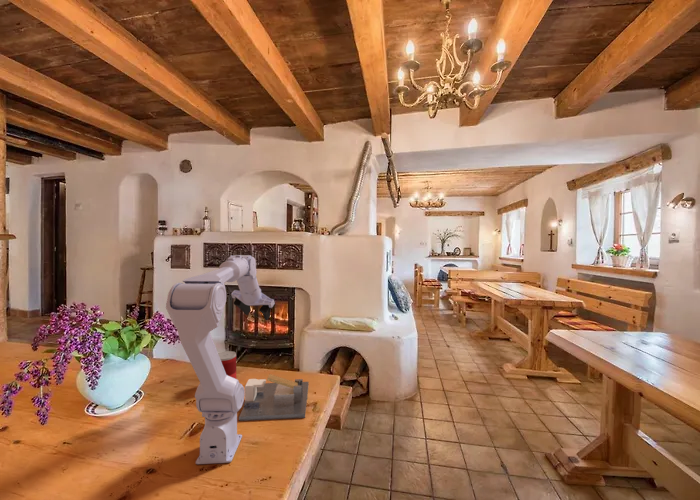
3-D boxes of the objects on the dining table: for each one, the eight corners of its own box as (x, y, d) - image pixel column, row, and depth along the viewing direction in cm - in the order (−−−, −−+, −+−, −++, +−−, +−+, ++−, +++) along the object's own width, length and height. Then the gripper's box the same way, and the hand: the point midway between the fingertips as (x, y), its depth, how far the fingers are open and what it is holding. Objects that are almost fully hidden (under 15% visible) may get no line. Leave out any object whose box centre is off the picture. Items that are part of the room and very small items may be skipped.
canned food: (240, 381, 108) (240, 351, 108) (229, 391, 100) (229, 359, 100) (220, 380, 109) (220, 350, 109) (207, 390, 101) (207, 358, 101)
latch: (263, 402, 91) (263, 385, 91) (245, 403, 90) (245, 386, 90) (266, 394, 96) (266, 378, 95) (249, 395, 95) (249, 379, 95)
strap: (298, 390, 93) (299, 387, 93) (266, 380, 92) (267, 377, 92) (299, 386, 95) (300, 383, 95) (268, 376, 95) (269, 373, 95)
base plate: (304, 417, 85) (304, 397, 85) (238, 420, 84) (238, 400, 84) (308, 384, 105) (308, 368, 105) (255, 387, 104) (255, 370, 104)
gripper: (276, 283, 93) (282, 311, 101) (236, 274, 96) (245, 302, 105) (264, 299, 88) (272, 327, 96) (223, 288, 91) (234, 317, 100)
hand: (257, 315), depth 100 cm, fingers open, 7 cm apart
